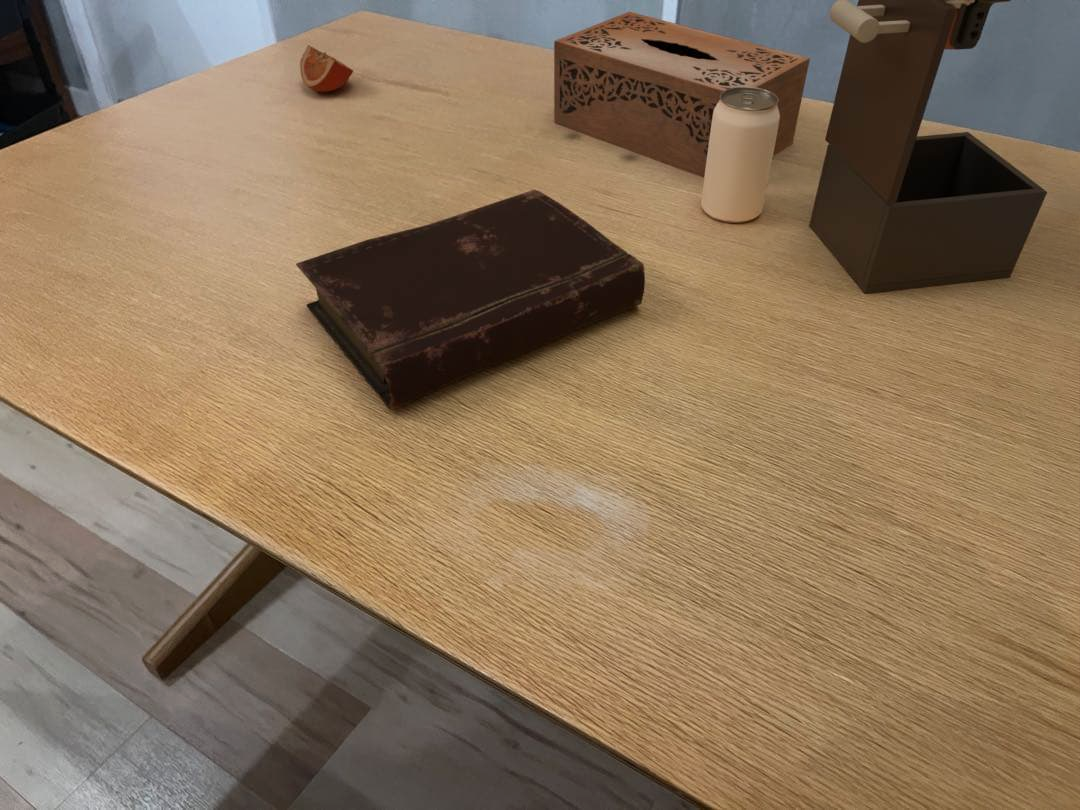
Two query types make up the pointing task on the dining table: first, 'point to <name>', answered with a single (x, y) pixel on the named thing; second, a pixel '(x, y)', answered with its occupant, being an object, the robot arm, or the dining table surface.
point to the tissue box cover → (665, 85)
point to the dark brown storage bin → (928, 217)
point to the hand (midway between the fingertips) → (945, 36)
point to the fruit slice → (322, 71)
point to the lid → (886, 83)
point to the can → (740, 154)
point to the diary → (468, 292)
